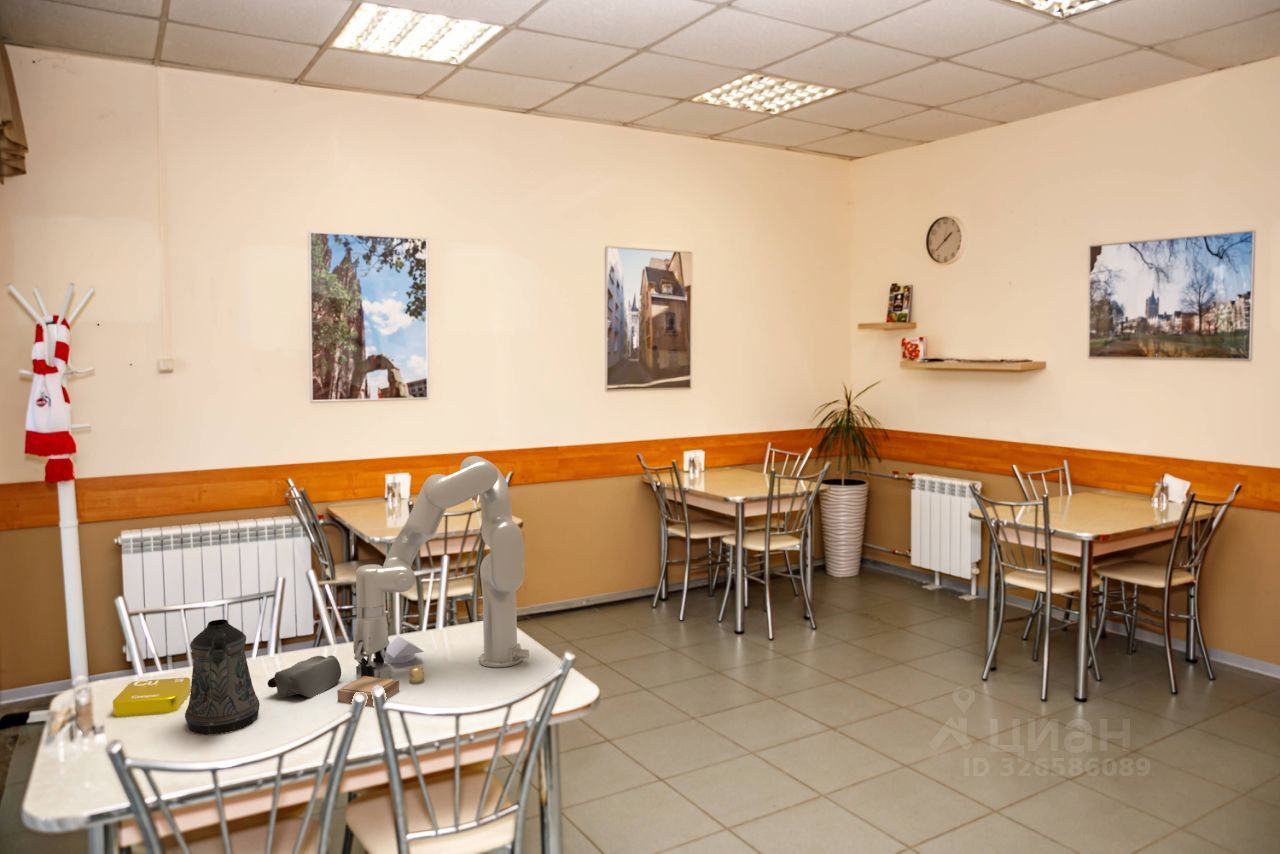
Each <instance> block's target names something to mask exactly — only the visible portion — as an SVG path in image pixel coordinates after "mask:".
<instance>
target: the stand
mask: <svg viewBox="0 0 1280 854" xmlns="http://www.w3.org/2000/svg"><path fill="white" fill-rule="evenodd" d="M376 685H379V686H382V687H383V688H384V690H385V693H386V697H387V699H386V700H388V699H389V698H391V697H392V696H394V695H396V694H398V692H400V680H399V679H392V678H391V679H385V678H377V677H369V676H362V677H360V678H359V679H357V678H356V679H355V680H354V681H351V682H350V683H348V684H346V685H345V686H342V687H341V688H339V689H337V702H338V703H344V704H351V702H352V699H353V696H354V694H355V693H356V692H364V693H366V694H367V696H368V699H367V703H366V707H372V708H373V707H374V706H373V699H372V694H371V690H372V688H373V687H374V686H376ZM374 708H375V707H374Z"/></svg>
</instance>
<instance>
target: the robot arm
mask: <svg viewBox="0 0 1280 854" xmlns="http://www.w3.org/2000/svg"><path fill="white" fill-rule="evenodd" d="M478 496H479V502H480V513H481V519H480V520H481V538H482V540H483V542H484V543H485V545H487V546H488V547H489V553H488V554H487V555H485V557H484V558H483V559H482V561H481V564H480V567H479V573H480V574H479V577H480V582H481V591H482V592H481V593H482V594H481V595H482V620H483V621H482V623H483V626H482V627H483V631H482V632H483V653H481V654H480V655H479V657H478V663H479V664H480V665H482V666H484V667H489V668H505V667H512V666H515V665H518V664H519V663H521V662H522V661H523V660H524V659H526V660H527V659H529V657H530V651H529V649H525V648H524V649H523V648H521V645H522V644H521V643H518V623H517V621H518V618H517V615H518V614H517V593H516V592H517V590H518V589H519V588H520V587H521V585H522V584H523V582H524V578H525V548H524V546H525V545H524V536H523V533H522V530H521V528H520V526H519V525H518V524H517V523H516V522H514V520H513V515H512V512H513V511H512V502H511V493H510V488H509V484H508V481H507V479H506V478H505V477H504V475H503V473H502V472H501V470H499V468H498V467H497V466H496V465H495V464H494V463H492V462H491V461H490V460H487V459H485V458H483V457H481V456H478V455H471V456H467V457H466V458H464V460H462V462H461V464H460V467H459V470H458V471H455V472H453V473H452V474H448V475H445V474H443V473H442V474H441V473H437V474H432V475H430V476H428V477H427V479H426V480H425V481H424V483H423V484H422V486H421V489H420V491H419V494H417V498H416V500H415V502H414V504H413V507H412V509H411V511H410V513H409V515H408V518H407V520H406V522H405V524H403V526H402V528H401V530H400V531H399V533H398V534H397V536H396V538H395V540H394V541H393V543H392V545H391V547H390V549H389V552H388V553H387V556H386V558H385V559H384V563H383V564H382V565H383V566H382V565H380V564H375V563H374V564H373V563H372V564H364V565H360V566H359V567H357V569H356V570H355V588H356V591H355V593H356V594H355V595H356V619H355V623H354V628H353V649H352V650H353V654H354V657H353V659H354V660H355V661H356V662H358V665H360V666H361V677H362V676H369V677H372V666H371V661H373V662H380V663H385V661H384V658H385V652H386V650H387V647H388V645H389V644H390V643H391V642H390V640H389V625H388V619H387V614H386V612H387V611H386V610H387V609H386V607H387V606H386V605H387V604H386V593H405V592H407V591H410V590H411V589H412V588H413V587H414V585H415V584H416V583H415V582H416V574H415V572H414V570H413V569H412V566H413V563H414V560H415V559H416V557H417V555H418V553H419V551H420V549H421V548H422V547H423V545H424V544H425V543H426V542H428V541H429V540H431V539H432V538H433V537H434V536H435V535H436V533H437V531H438V528H439V526H440V524H441V522H442V520H443V517H444V515H445V513H446V511H447V509H450V508H453V507H456V506H458V505H461V504H463V503H466V502H467V501H469V500H472V499H474V498H475V497H478ZM373 655H374V657H373V658H372V656H373ZM365 657H366V658H365ZM372 659H373V660H372Z"/></svg>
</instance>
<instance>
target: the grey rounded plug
mask: <svg viewBox="0 0 1280 854" xmlns="http://www.w3.org/2000/svg"><path fill="white" fill-rule="evenodd" d="M337 658H338V657H336V656H335V655H329V656H327V657H326V656H324V655H323V656H322V655H315V656H311V657H309V658H308V659H306V660H300V661H298V662H297V663H294V665H291V666H290V667H287V668H284V669H282V670H278V671H277V672H275V674H274V676H273V677H271V678H270V679H268V681H267V686H268V687H269V688H272V689H273V688H276V694H277V696H279V697H283V698H284V697H289V696H294V695H297V694H299V695H302V696H304V697H306V698H315V697H317V696H319V695H321V694H323V693H324V692H326V691H328V689H330V688H332V687H334V686H336V685H337V684H338V683H339V682H340V679H341V677H342V668H341V664H340V662H339V660H338V659H337ZM318 694H319V695H318ZM316 695H317V696H316ZM314 696H315V697H314Z"/></svg>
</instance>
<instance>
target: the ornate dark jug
mask: <svg viewBox="0 0 1280 854" xmlns="http://www.w3.org/2000/svg"><path fill="white" fill-rule="evenodd" d="M246 642H247V636H246V634H245V633H244V632H243V631H241V630H240V629H239V628H236V627H235V626H233V625H231V624H230V623H229V622H228V619H215V620H210V621H208V623H207V626H206V628H204V629H203V630H202V631H201V632H200V633H198V634H197V635H196V636H195V637H194V638H193V639H192V640H191V642H190V644H189V646H190V650H191V652H192V654H193V663H192V673H191V681H190V685H191V694H190V695H189V701H188V704H187V709H186V710H185V713H184V719H185V722H186V723H187V726H188V727H187V728H188V731H189V730H190V731H189V732H191V731H192V733H193V732H194V733H193V734H196V733H197V735H203V734H204V736H207V735H208V736H209V734H210V736H212V735H222V734H221V733H223V734H226V733H225V732H228V733H231V732H230V731H233V732H236V731H238V729H239V730H242V729H244V727H245V728H247V727H248V726H251V725H252V724H254V723H255V722H256V721H257V720H258V716H259V711H260V706H261V705H260V699H259V697H258V696H257V694H256V692H255V689H254V686H253V682H252V679H251V674H250V669H249V665H248V661H247V657H246V656H247V655H246V652H245V646H246ZM255 720H256V721H255ZM254 721H255V722H254ZM253 722H254V723H253ZM246 726H247V727H246ZM235 730H236V731H235ZM211 734H212V735H211Z"/></svg>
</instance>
